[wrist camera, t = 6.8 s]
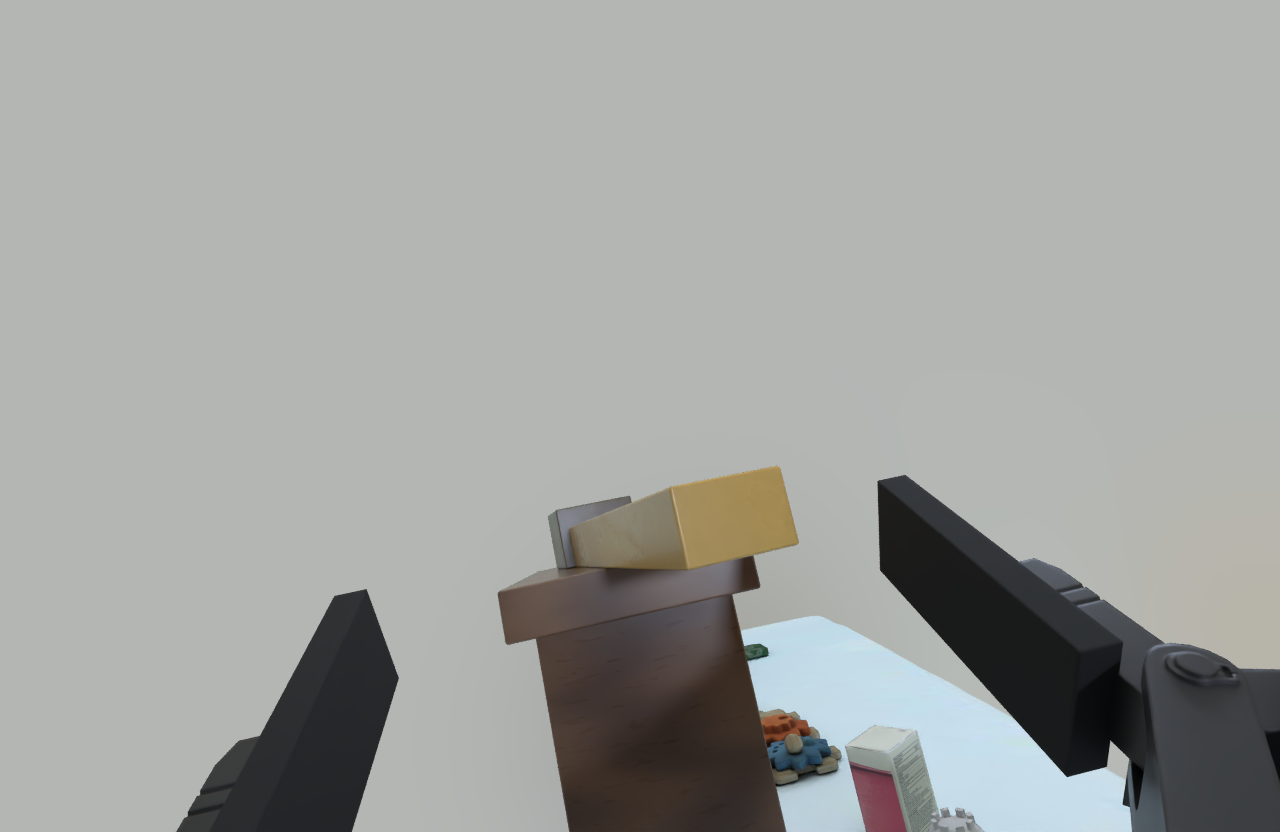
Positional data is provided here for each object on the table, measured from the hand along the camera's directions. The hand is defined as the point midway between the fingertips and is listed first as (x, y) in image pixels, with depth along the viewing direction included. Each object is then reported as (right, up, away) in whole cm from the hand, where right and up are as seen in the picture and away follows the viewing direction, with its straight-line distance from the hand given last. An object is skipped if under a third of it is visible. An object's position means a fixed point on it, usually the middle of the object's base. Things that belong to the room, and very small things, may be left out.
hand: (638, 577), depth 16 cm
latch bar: (0, -2, +9) cm, 10 cm away
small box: (+22, -31, +37) cm, 53 cm away
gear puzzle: (+14, -38, +65) cm, 77 cm away
